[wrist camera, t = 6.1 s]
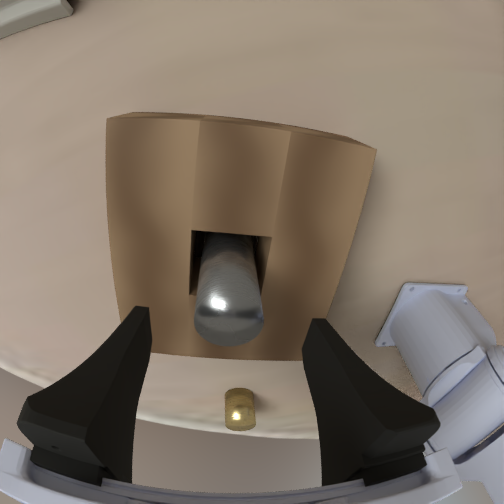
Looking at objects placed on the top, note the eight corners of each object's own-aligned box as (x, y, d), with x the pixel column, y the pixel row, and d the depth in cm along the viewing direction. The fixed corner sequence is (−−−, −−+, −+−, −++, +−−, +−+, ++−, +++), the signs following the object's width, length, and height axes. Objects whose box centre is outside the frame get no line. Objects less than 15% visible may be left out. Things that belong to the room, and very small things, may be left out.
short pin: (254, 388, 31) (258, 418, 27) (250, 402, 32) (253, 431, 29) (225, 387, 30) (226, 417, 27) (223, 401, 32) (224, 430, 28)
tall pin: (253, 215, 21) (268, 297, 13) (247, 255, 22) (258, 347, 14) (206, 212, 20) (193, 293, 12) (204, 252, 22) (194, 344, 14)
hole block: (347, 136, 18) (376, 149, 14) (298, 322, 26) (309, 360, 22) (132, 112, 16) (106, 118, 12) (138, 310, 24) (126, 348, 20)
